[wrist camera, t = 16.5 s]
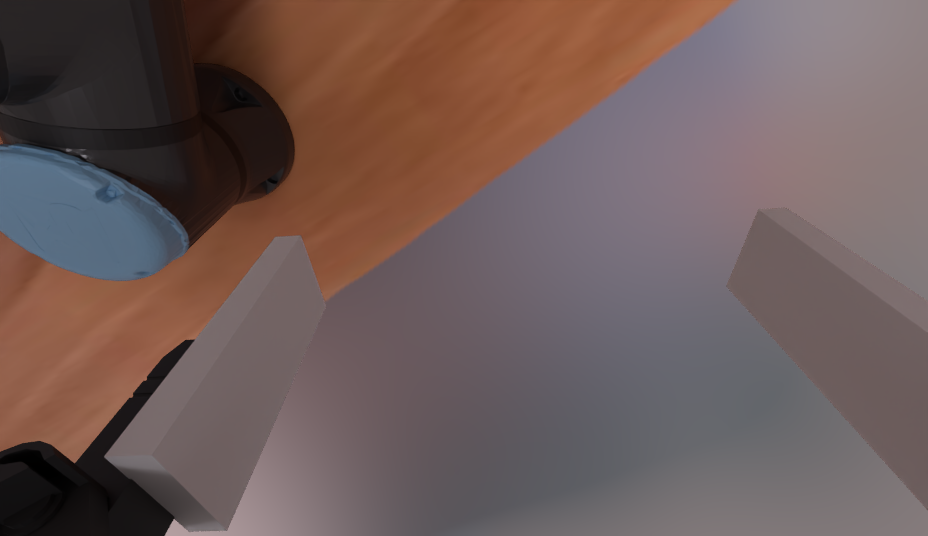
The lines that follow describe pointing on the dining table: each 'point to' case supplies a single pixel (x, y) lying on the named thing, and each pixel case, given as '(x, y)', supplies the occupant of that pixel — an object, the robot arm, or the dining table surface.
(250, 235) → the dining table surface
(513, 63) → the dining table surface
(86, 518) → the robot arm
